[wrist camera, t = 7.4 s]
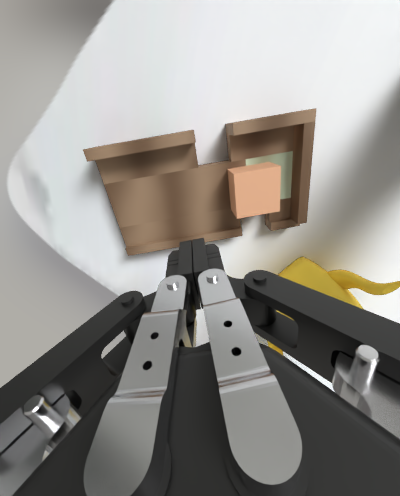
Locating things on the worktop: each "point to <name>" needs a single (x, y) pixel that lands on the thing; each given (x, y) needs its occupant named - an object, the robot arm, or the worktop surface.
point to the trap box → (202, 181)
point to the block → (254, 189)
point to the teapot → (331, 283)
